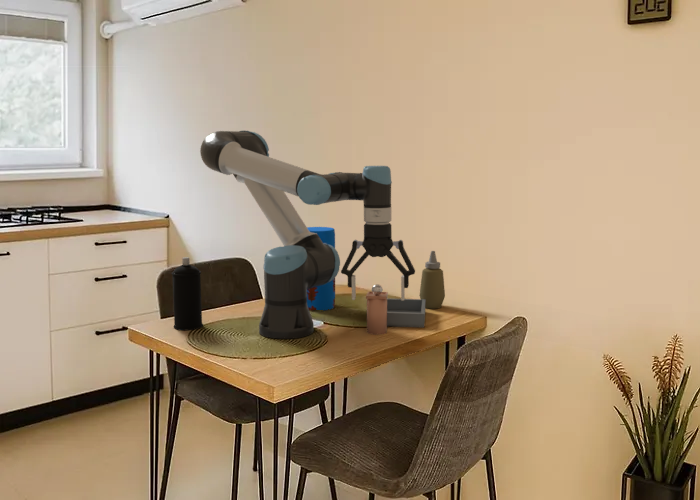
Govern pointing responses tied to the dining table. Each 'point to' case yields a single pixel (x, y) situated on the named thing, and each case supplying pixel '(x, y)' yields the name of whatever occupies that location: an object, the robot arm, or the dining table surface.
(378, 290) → the ball
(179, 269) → the aerosol can
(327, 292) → the thermos
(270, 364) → the dining table surface
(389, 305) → the tray
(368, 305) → the shaker
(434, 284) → the squeeze bottle
